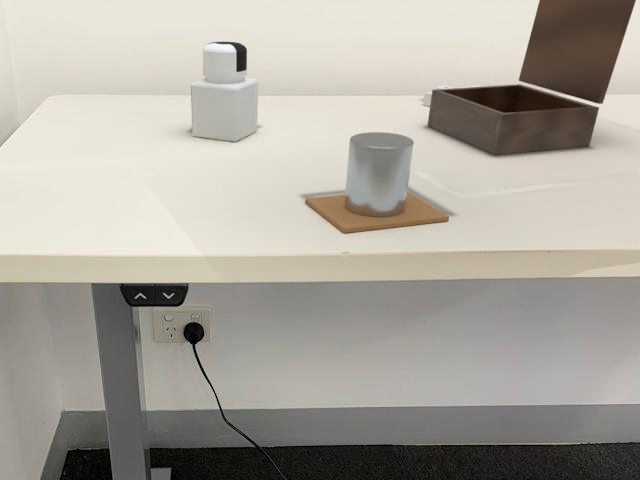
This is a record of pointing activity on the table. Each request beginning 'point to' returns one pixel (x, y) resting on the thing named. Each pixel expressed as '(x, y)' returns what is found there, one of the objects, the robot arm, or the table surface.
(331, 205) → the mat
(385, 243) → the table surface
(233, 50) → the white block with cylinder
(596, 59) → the lid
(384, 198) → the silver metal canister
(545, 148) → the box
